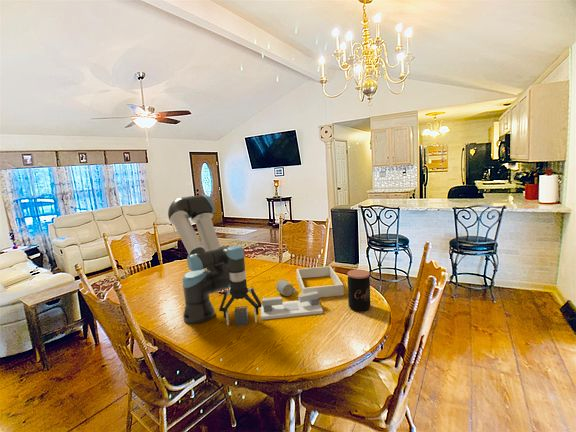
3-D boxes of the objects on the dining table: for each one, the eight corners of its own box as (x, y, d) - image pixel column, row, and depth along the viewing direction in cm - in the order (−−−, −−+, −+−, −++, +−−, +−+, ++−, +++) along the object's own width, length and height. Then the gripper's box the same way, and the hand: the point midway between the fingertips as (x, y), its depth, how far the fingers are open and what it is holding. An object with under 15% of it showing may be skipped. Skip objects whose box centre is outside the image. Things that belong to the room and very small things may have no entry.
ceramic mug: (283, 298, 173) (282, 285, 172) (276, 293, 180) (275, 281, 179) (299, 293, 178) (299, 280, 177) (292, 289, 185) (291, 276, 184)
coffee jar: (354, 314, 150) (353, 278, 147) (344, 304, 161) (343, 271, 158) (374, 310, 153) (374, 274, 150) (363, 301, 163) (362, 267, 160)
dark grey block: (235, 326, 147) (234, 310, 145) (236, 320, 152) (235, 305, 151) (247, 325, 147) (246, 309, 146) (248, 319, 152) (246, 304, 151)
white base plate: (261, 319, 151) (259, 306, 150) (261, 306, 165) (260, 294, 164) (322, 313, 153) (322, 299, 152) (317, 301, 167) (317, 288, 166)
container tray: (303, 299, 171) (303, 288, 170) (297, 278, 202) (296, 269, 201) (343, 295, 172) (343, 284, 171) (330, 274, 204) (330, 265, 203)
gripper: (209, 285, 141) (214, 329, 145) (264, 279, 143) (268, 323, 147) (212, 279, 149) (217, 321, 152) (264, 274, 150) (267, 316, 154)
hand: (242, 322), depth 149 cm, fingers open, 12 cm apart
